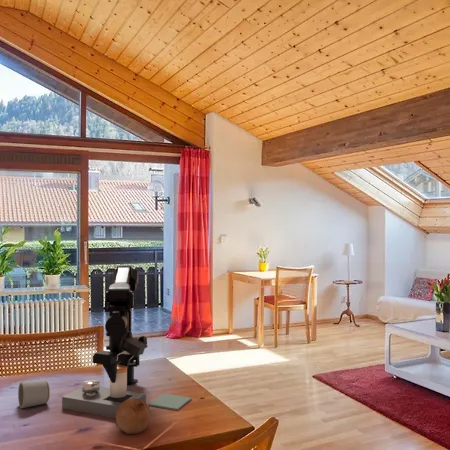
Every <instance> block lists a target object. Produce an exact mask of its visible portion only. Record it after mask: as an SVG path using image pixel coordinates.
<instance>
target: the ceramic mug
mask: <svg viewBox="0 0 450 450" xmlns="http://www.w3.org/2000/svg"><path fill="white" fill-rule="evenodd" d="M17 393H18V394H17V397H18V404H19V405H18V406H19V408H21V409H25V408H31V407H35V406H36V407H37V406H41V405H45V404H47V403H48V402H49V400H50V396H51V395H50V393H51V391H50V385H49V383H48V381H47V380H31V381H21V382H20V383H19V385H18V391H17Z"/></svg>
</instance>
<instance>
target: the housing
mask: <svg viewBox="0 0 450 450" xmlns="http://www.w3.org/2000/svg"><path fill="white" fill-rule="evenodd" d="M146 397H147V396H146V393H142V392H136V391H130V390H127V395H126V396H124V397H121V398H113V397H111V396H110V387H103V386H99V391H98V392H95V395H93V396H90V395H86V393H84V392H82V386H81V387H79V388H77V389H75V390H73V391H71V392H69V393H67V394H65V395H63V396H62V397H61V400H62V401H61V406H62V407H61V409H63V410H67V411H68V410H70V411H74V412H75V411H76V412H80V413H86V414H89V415H90V414H91V415H95V416H96V415H97V416H102V417H107V418H108V417H109V418H114V419H116V413H117V410H118V408H119V406H120V405H121V404H122V403H123V402H124V401H126V400H128V399H132V398H136V399H140V400H142V401H144V402H145V403H146V401H147V400H146ZM146 404H147V403H146Z"/></svg>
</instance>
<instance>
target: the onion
mask: <svg viewBox="0 0 450 450" xmlns="http://www.w3.org/2000/svg"><path fill="white" fill-rule="evenodd" d="M151 416H152V414H151V409H150V406H148V404H147V403H145V402H144V401H142V400H140V399H136V398H132V399H128V400H126V401H124V402H123V403H122V404H121V405H120V406H119V408H118V410H117V413H116V418H115V420H116V421H115V425H116V426H117V427H119V429H120V430H121V431H122V432H123V433H124V434H127V435H132V434H133V435H134V434H135V435H137V434H139V433H142V432H143V431H145V430H146V428H147V427H148V426H149V424H150V422H151V418H152V417H151Z"/></svg>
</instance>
